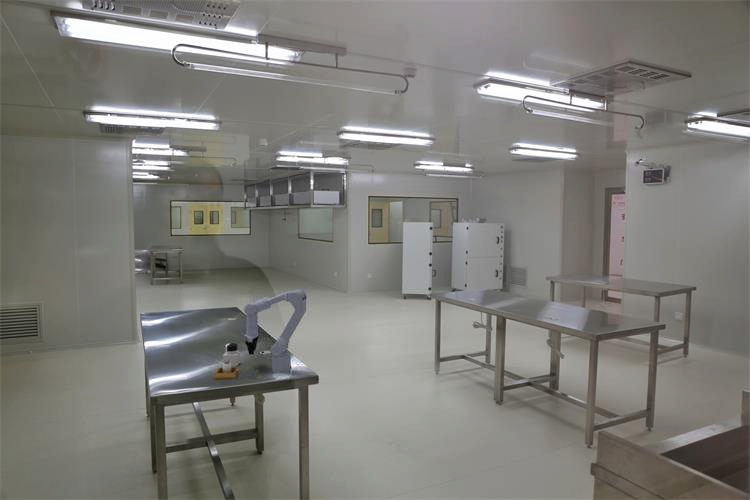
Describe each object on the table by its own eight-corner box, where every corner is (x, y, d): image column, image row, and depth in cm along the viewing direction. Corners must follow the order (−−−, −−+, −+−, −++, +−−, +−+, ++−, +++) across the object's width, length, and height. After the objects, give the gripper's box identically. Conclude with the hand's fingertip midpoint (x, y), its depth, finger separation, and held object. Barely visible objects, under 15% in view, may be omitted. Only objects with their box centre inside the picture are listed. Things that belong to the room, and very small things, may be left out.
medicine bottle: (240, 364, 259) (239, 342, 259) (236, 368, 252) (236, 345, 252) (226, 364, 259) (226, 342, 258) (222, 368, 252) (222, 345, 251)
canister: (231, 373, 240) (231, 360, 240) (230, 376, 236) (230, 362, 236) (223, 374, 240) (223, 360, 239) (222, 376, 236) (221, 362, 235)
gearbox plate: (259, 372, 246) (259, 365, 246) (256, 380, 233) (256, 373, 233) (219, 373, 244) (219, 366, 244) (213, 382, 231) (213, 374, 231)
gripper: (246, 323, 254) (246, 348, 255) (241, 329, 240) (242, 356, 241) (259, 323, 255) (260, 348, 256) (256, 329, 241) (256, 356, 242)
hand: (252, 352), depth 248 cm, fingers open, 7 cm apart
